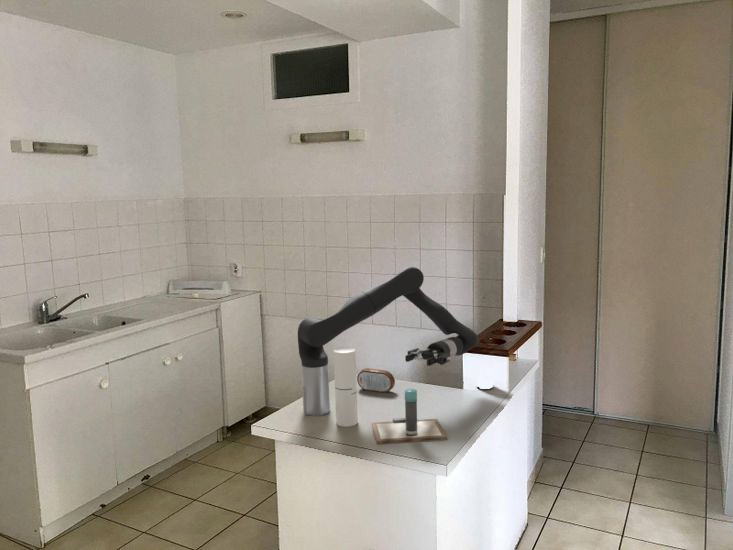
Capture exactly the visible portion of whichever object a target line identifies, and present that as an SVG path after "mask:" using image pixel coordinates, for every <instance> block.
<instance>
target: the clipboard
mask: <svg viewBox="0 0 733 550" xmlns="http://www.w3.org/2000/svg"><path fill="white" fill-rule="evenodd" d="M371 427H372V430H373V431H372V432H373V436H374V440H375V443H376V444H377V445H378V444H393V443H407V442H409V443H410V442H423V441H426V440H427V441H439V440H438V439H443V440H448V436H447V434H446V432H445V430H444V429H443V427H442V425H441V422H440V421H439V419H438V418H429V419H417V435H416V436H407V435H406V419H405V417H400V418H398V417H396V418H392V421H379V422H377V421H376V422H371Z"/></svg>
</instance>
